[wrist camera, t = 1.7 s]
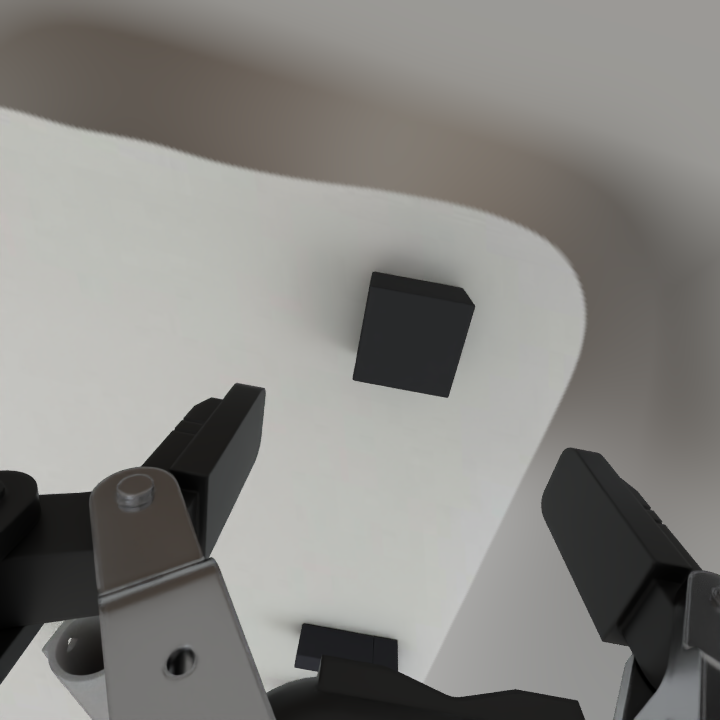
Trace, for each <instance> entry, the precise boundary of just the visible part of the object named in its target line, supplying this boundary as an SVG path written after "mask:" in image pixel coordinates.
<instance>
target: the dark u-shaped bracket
mask: <svg viewBox="0 0 720 720" xmlns="http://www.w3.org/2000/svg"><path fill="white" fill-rule="evenodd" d="M322 654H324V655H329V656H335V657H340V658H346V659H351V660H357V661H362V662H368V663H373V664H379V665H384V666H387V667H389V668H391V669H393V670H396V671H398V646H397V640H391V639H386V638H380V637H373V636H369V635H363V634H358V633H352V632H347V631H341V630H336V629H330V628H325V627H319V626H314V625H308V624H303V625H302V629H301V634H300V639H299V644H298V649H297V654H296V660H295V668H300V669H306V670H311V671H317V672H318V670H319V666H320V662H321V657H322Z"/></svg>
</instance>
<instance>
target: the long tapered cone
mask: <svg viewBox="0 0 720 720" xmlns="http://www.w3.org/2000/svg"><path fill="white" fill-rule="evenodd" d="M69 638H72V639H71V642H70V643H69V645H68V640H69ZM42 652H43V653H44V654H45V656H46V657H47V658H48V661H49V665H50V668H51V670H52V671H53V673H54V674H55V675H56V676H57V678H58V679H59V680H60V682H61V683H62V684H63V685H64V686H65V687H66V688H67V689H68V690H69V692H70V693H71V694H72V696H73V697H74V698H75V699H76V701H77V702H78V703H79V704H80V705H81V706H82V708H83V709H84V710H85V711H86V713H87V714H88V715H89V716H90V717H91V719H92V720H109V713H108V703H107V692H106V682H105V671H104V660H103V650H102V639H101V629H100V618H99V616H92V617H85V618H78V619H71V620H65V621H64V622H63V623H62V625H61V626H60V627H59V628H58V629H57V631H56V632H55V633H54V634H53V636H52V637H51V638H50V639H49V641H48V642H47V643H46V644H45V646H44V647H43V649H42Z"/></svg>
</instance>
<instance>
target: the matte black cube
mask: <svg viewBox="0 0 720 720" xmlns="http://www.w3.org/2000/svg"><path fill="white" fill-rule="evenodd" d="M474 309H475V305H474V303H473V302H472V301H471V299H470V298H469V296H468V295H467V294H466V292H465V291H464V289H463V288H459V287H454V286H448V285H443V284H438V283H432V282H427V281H422V280H416V279H411V278H405V277H400V276H395V275H389V274H384V273H379V272H373V273H372V277H371V282H370V287H369V292H368V298H367V303H366V309H365V314H364V319H363V325H362V330H361V336H360V341H359V347H358V352H357V358H356V363H355V368H354V374H353V380H354V381H359V382H365V383H370V384H376V385H381V386H386V387H392V388H397V389H402V390H408V391H413V392H419V393H424V394H429V395H435V396H440V397H446V398H448V396H449V393H450V390H451V387H452V383H453V380H454V376H455V373H456V370H457V366H458V363H459V359H460V356H461V353H462V349H463V346H464V343H465V339H466V336H467V332H468V329H469V326H470V322H471V319H472V315H473V312H474Z"/></svg>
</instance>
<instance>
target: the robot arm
mask: <svg viewBox="0 0 720 720" xmlns="http://www.w3.org/2000/svg"><path fill="white" fill-rule="evenodd" d="M265 396H266V392H265V388H261V387H256V386H251V385H245V384H240V383H236V384H234V386H233V387H232V388H231V389H230V391H229V392H228V393H227V395H226V396H225V397H224V399H223V400H222V399H217V398H212V397H211V398H209V399H207V400H205V401H203V402H201V403H199V404H197V405H195V406H194V407H193V408H192V409H191V410H190V411H189V413H188V414H187V415H186V416H185V417H184V420H182V421H181V422H180V423H179V424H178V425H177V426H176V427H175V430H174V431H172V432H171V433H170V434H169V435H168V436H167V438H166V439H165V440H164V441H163V442H162V443H161V444H160V446H159V447H158V448H157V449H156V450H155V451H154V452H153V454H152V455H151V456H150V457H149V458H148V459H147V460H146V461H145V463H144V464H143V465H142V466H141V467H135V468H129V469H126V470H122V471H119V472H117V473H114V474H112V475H110V476H109V477H107V478H105V479H104V480H102V481H101V482H100V483H99V484H98V485H97V486H96V487H95V488H94V489H93V491H92V492H83V493H66V494H48V495H39V493H38V487H37V483H36V481H35V480H34V479H33V477H31V476H30V475H28V474H25V473H23V472H18V471H9V470H6V471H0V684H1V683H2V682H3V680H4V679H5V677H6V676H7V675H8V673H9V672H10V670H11V669H12V668H13V666H14V665H15V663H16V662H17V661H18V659H19V658H20V656H21V655H22V654H23V652H24V651H25V649H26V648H27V647H28V645H29V644H30V642H31V641H32V640H33V638H34V637H35V635H36V634H37V633H38V631H39V630H40V628H41V627H42V626H43V624H44V623H49V622H56V621H64V620H71V619H78V618H85V617H92V616H99V618H100V629H101V639H102V650H103V660H104V671H105V682H106V692H107V703H108V713H109V720H585V718H584V716H583V713H582V710H581V708H580V705H579V702H578V701H577V700H571V699H566V698H561V697H555V696H549V695H544V694H539V693H533V692H527V691H522V690H516V689H515V690H507V691H501V692H494V693H486V694H480V695H472V696H465V697H451V696H448V695H446V694H444V693H441V692H440V691H437V690H435V689H433V688H431V687H429V686H427V685H425V684H423V683H421V682H419V681H416V680H414V679H412V678H410V677H408V676H406V675H404V674H402V673H400V672H398V671H396V670H393V669H391V668H389V667H387V666H384V665H379V664H373V663H368V662H362V661H357V660H351V659H346V658H340V657H335V656H329V655H324V654H322V657H321V662H320V666H319V670H318V674H317V677H311V678H303V679H300V680H296V681H293V682H289V683H286V684H284V685H282V686H279V687H277V688H275V689H272V690H271V691H269V692H267V693H266V691H265V689H264V686H263V683H262V681H261V678H260V675H259V673H258V670H257V667H256V665H255V662H254V659H253V657H252V654H251V651H250V649H249V646H248V643H247V641H246V638H245V635H244V633H243V630H242V627H241V625H240V622H239V619H238V616H237V614H236V611H235V608H234V606H233V603H232V600H231V598H230V595H229V592H228V590H227V587H226V584H225V582H224V579H223V576H222V574H221V571H220V569H219V566H218V564H217V562H216V561H215V559H214V558H212V557H211V558H209V556H210V554H211V552H212V550H213V548H214V546H215V544H216V542H217V540H218V538H219V535H220V533H221V531H222V529H223V527H224V525H225V523H226V521H227V519H228V517H229V515H230V513H231V510H232V508H233V506H234V504H235V502H236V500H237V498H238V496H239V494H240V492H241V490H242V488H243V486H244V483H245V481H246V479H247V477H248V475H249V473H250V471H251V469H252V467H253V465H254V463H255V460H256V458H257V455H258V451H259V447H260V442H261V435H262V425H263V416H264V406H265ZM541 508H542V514H543V517H544V519H545V521H546V524H547V526H548V528H549V530H550V532H551V534H552V536H553V538H554V540H555V543H556V545H557V547H558V549H559V551H560V553H561V555H562V557H563V559H564V561H565V563H566V566H567V568H568V570H569V572H570V574H571V576H572V578H573V580H574V582H575V585H576V587H577V589H578V591H579V593H580V595H581V597H582V599H583V601H584V603H585V606H586V608H587V610H588V612H589V614H590V616H591V618H592V620H593V622H594V625H595V627H596V629H597V631H598V633H599V635H600V637H601V639H602V641H603V642H608V643H613V644H619V645H624V646H629V647H630V649H631V651H632V655H631V656H630V658H629V659H628V660H627V662H626V664H625V667H624V672H623V676H622V681H621V686H620V690H619V695H618V700H617V704H616V709H615V714H614V719H613V720H720V575H718V574H715V573H712V572H708V571H703V570H702V569H701V568H700V567H699V565H698V564H697V563H696V562H695V561H694V559H693V558H692V557H691V556H690V555H689V553H688V552H687V551H686V550H685V549H684V547H683V546H682V545H681V544H680V542H679V541H678V540H677V539H676V538H675V536H674V535H673V534H672V533H671V531H670V530H669V529H668V528H667V527H666V525H664V524H662V521H661V519H660V518H659V517H658V516H657V514H656V513H655V512H654V511H652V510H650V508H651V507H650V506H649V505H648V504H647V502H646V501H645V500H644V499H643V497H642V496H641V495H640V494H639V493H638V491H636V490H635V489H634V488H633V487H631V486H630V485H629V484H628V483H626V482H625V481H624V480H622V479H621V478H620V477H619V476H618V474H617V473H616V472H615V471H614V469H613V468H612V467H611V466H610V464H609V463H608V462H607V461H606V459H605V458H604V457H603V456H602V455H601V454H599V453H596V452H591V451H585V450H580V449H575V448H567V449H565V450H564V451H563V452H562V454H561V456H560V458H559V460H558V463H557V464H556V467H555V469H554V471H553V473H552V475H551V478H550V480H549V482H548V484H547V486H546V488H545V490H544V493H543V496H542V502H541Z"/></svg>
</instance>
